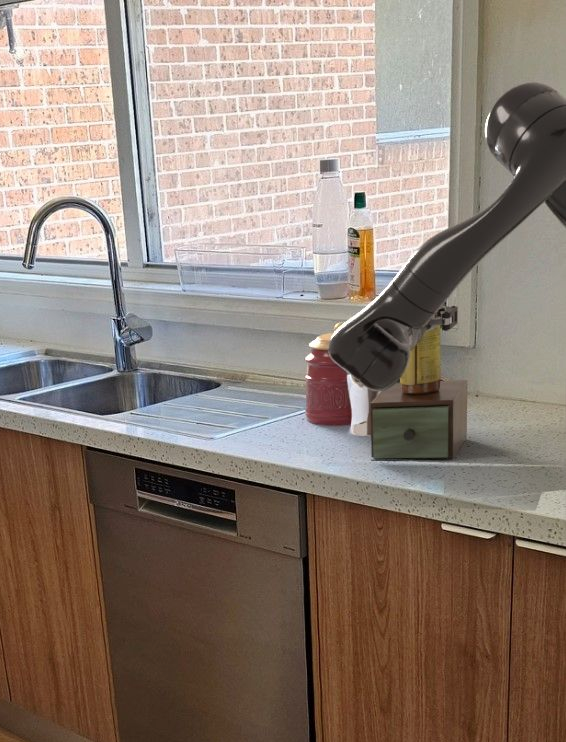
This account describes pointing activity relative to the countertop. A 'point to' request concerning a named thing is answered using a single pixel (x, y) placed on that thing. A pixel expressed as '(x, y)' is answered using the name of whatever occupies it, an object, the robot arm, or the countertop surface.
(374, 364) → the robot arm
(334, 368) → the kitchen canister
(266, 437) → the countertop surface
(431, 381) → the sauce bottle
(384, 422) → the drawer
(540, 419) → the countertop surface
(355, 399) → the beer glass
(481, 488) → the countertop surface
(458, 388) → the cabinet
